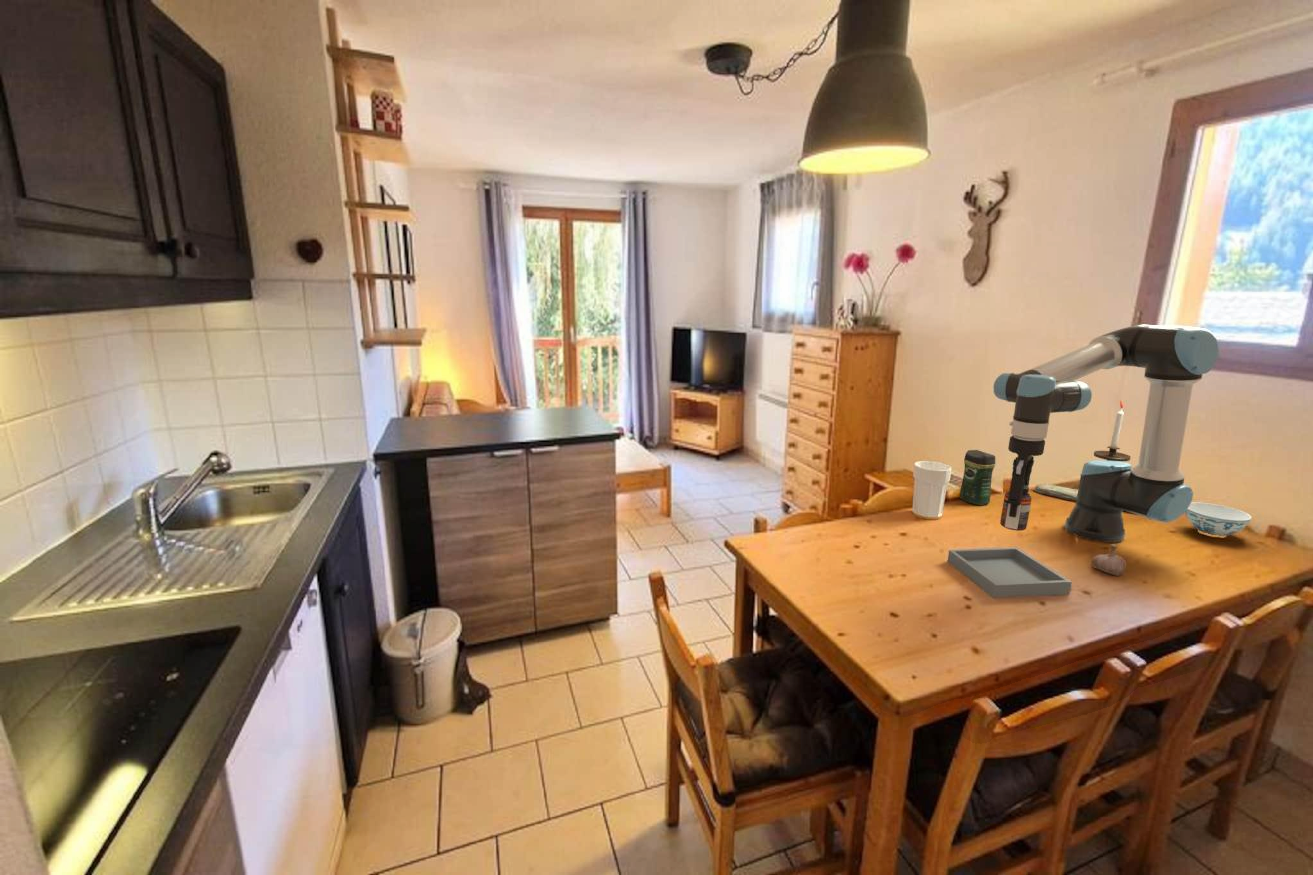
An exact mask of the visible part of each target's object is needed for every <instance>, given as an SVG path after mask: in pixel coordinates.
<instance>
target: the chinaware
mask: <svg viewBox="0 0 1313 875" xmlns="http://www.w3.org/2000/svg"><path fill="white" fill-rule="evenodd" d="M1184 514H1185V516H1186V519H1187V521H1188V522H1189V523H1190V524H1191V525H1192V526H1193V527H1194V529H1198V530H1199V531H1201V532H1203V533H1208V534H1211V535H1219V536H1225V535H1227V536H1230V535H1234V534H1237V533H1239V532H1240V531H1242V530H1244V529H1245V528H1246V527H1247V526H1248V525H1249V523H1250V522H1251V519H1252V516H1251V515H1250V514H1248V513H1247V512H1245V511H1242V510H1240V509H1237V508H1233V507H1230V506H1226V505H1221V504H1216V503H1215V504H1214V503H1208V502H1192V501H1191V503H1190V505H1189V507H1188V509H1187V510H1186V511H1185V512H1184Z"/></svg>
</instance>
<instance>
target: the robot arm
mask: <svg viewBox="0 0 1313 875" xmlns="http://www.w3.org/2000/svg"><path fill="white" fill-rule="evenodd" d="M1219 349H1220V348H1219V342H1218V340H1217V337H1216V336H1215V334H1214V333H1213V332H1212V331H1211V330H1209V329H1206V328H1202V327H1193V326H1189V325H1188V326H1183V325H1158V324H1157V325H1154V324H1153V325H1152V324H1137V325H1132V326H1127V327H1124V328H1123V327H1122V328H1120V329H1116V330H1114V331H1110V332H1108V333H1105V334H1101V335H1100V336H1096V338H1093V339H1092V340H1090V342H1089V343H1088V345H1085V346H1084V347H1083V346H1082V347H1081V348H1078V349H1075V350H1073V351H1071V352H1069V353H1067V354H1064V355H1062V356H1058V357H1056V358H1054V359H1051V360H1049V361H1047V362H1045V363H1042V364H1039V365H1037V366H1035V367H1032V368H1030V369H1027V370H1025V371H1022V372H1020V373H1014V372H1011V373H1010V372H1009V373H1008V372H1003V373H1001V374H1000V375H999V376H998V377H996V379H995V380H994V382H993V394H994V396H995V397H996V398H997V399H998V400H999V399H1000V400H1002V401H1006V402H1008V403H1015V405H1014V411H1013V416H1012V418H1013V419H1012V421H1010V422H1009V423H1008V424H1009V426H1010V427H1011V430H1010V434H1011V436H1010V437H1009V441H1008V446H1007V447H1008V451H1009V452H1011V453H1013V454H1016V455H1017V457H1015V459H1013V462H1012V472H1011V480H1010V487H1009V490H1010V491H1009V490H1008V491H1009V497H1008V500H1007V501H1006V500H1005V503H1008V509H1007V515H1006V521H1005V527H1007V528H1012V529H1016V530H1017V528H1018V522H1019V516H1020V510H1021V499H1022V494H1023V489H1024V485H1026V486H1028V487H1029V485H1030V484H1029V483H1030V478H1031V474H1032V471H1033V470H1032V469H1033V466H1034V464H1035V460H1034V459H1035V458H1034V457H1037V456H1038V457H1039V456H1041V455H1043V454H1044V452H1045V445H1046V440H1045V439H1046V438H1047V437H1048V436H1047V435H1048V431H1049V430H1048V429H1049V424H1050V416H1051V414H1052V413H1053V414H1054V413H1072V412H1075V411H1081V410H1084V409H1085V408H1087V407H1088V406H1089V404H1090V403H1091V401H1092V396H1093V395H1092V394H1093V393H1092V390H1091V388H1090V387H1089V385H1088V384H1086V383H1085V382H1083V381H1078V379H1081V378H1084V377H1086V376H1088V375H1091V374H1093V373H1095V372H1097V371H1099V370H1110V369H1114V368H1116V367H1134V368H1136V367H1137V368H1144V375H1143V376H1144V378H1145V379H1146V380H1147V381H1148V382H1149V383H1150V384H1149V392H1148V397H1147V403H1146V411H1145V415H1144V416H1145V417H1144V423H1143V424H1144V425H1143V429H1142V430H1143V431H1142V437H1141V445H1140V452H1139V456H1138V457H1139V458H1138V462H1137V463H1138V464H1137V465H1135V466H1132V464H1130V463H1128V462H1126V461H1107V460H1090V461H1087V462H1085V463H1083V466H1082V469H1081V473H1080V474H1079V475H1080V478H1079V484H1078V489H1077V490H1078V494H1077V500H1076V502H1075V505H1074V507H1073V508H1072V510H1071V512H1070V514H1069V516H1068V517H1066V519H1065V520H1064V521H1065V522H1064V530H1066V531H1067V532H1069V533H1070V534H1072V535H1074V536H1077V537H1079V538H1082V539H1087V540H1091V541H1095V542H1100V543H1101V542H1102V543H1120V542H1122V541H1124V540H1125V536H1126V529H1125V526H1124V525H1125V524H1124V519H1123V511H1122V510H1125V511H1128V512H1131V513H1130V514H1135V515H1137V516H1141V517H1143V518H1147V519H1148V520H1153V521H1157V522H1160V523H1171V522H1175V521H1176V520H1177V519H1179V518H1180V517H1181V516H1183V515H1184V514H1185V511H1186V510H1187V509H1188V507H1189V505H1190V503H1192V501H1193V499H1194V498H1193V497H1194V491H1193V488H1192V487H1191V486H1189V485H1188V484H1184V481H1185V477H1186V476H1185V474H1184V473H1183V472H1182V471H1181V470H1180V469H1179V468H1180V461H1181V456H1182V455H1181V454H1182V450H1183V444H1184V437H1185V432H1186V426H1187V422H1188V421H1187V420H1188V415H1189V410H1190V403H1191V398H1192V390H1193V386H1194V384H1196V383H1197V382H1200V381H1201V380H1202V378H1203V375H1204V374H1208V373H1209V372H1210V371H1212V369H1213V368H1214V367H1215V364H1217V361H1218V357H1219V353H1220V351H1219ZM1028 494H1029V495H1030V496H1031V494H1030V493H1028ZM1128 512H1127V513H1128ZM1005 527H1004V528H1005ZM1007 528H1006V529H1007ZM1016 530H1015V531H1016Z"/></svg>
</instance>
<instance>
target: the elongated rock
mask: <svg viewBox="0 0 1313 875" xmlns="http://www.w3.org/2000/svg"><path fill="white" fill-rule="evenodd" d="M1034 492H1035V493H1037V492H1038V493H1037V494H1040V495H1048V496H1050V497H1055V498H1057V497H1058V498H1057V499H1063V500H1066V501H1072V502H1075V503H1076V500H1077V494H1078V489H1077V488H1076V489H1075V488H1071V487H1065V486H1060V485H1054V484H1050V483H1039V484H1036V486H1035V487H1034ZM1124 511H1125V510H1122V512H1124ZM1126 513H1128V511H1127V512H1126Z"/></svg>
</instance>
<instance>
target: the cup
mask: <svg viewBox="0 0 1313 875" xmlns="http://www.w3.org/2000/svg"><path fill="white" fill-rule="evenodd" d="M951 474H952V467H951V465H949V464H946V463H943V462H940V461H931V460H922V461H921V460H920V461H916V462H915V463H914V464H913V475H912V476H913V478H914V482H913V483H914V484H913V485H914V486H913V497H912V511H911V513H912V514H913V516H915V517H917V518H920V519H923V520H933V521H934V520H940V519H941V518H942V516H943V512H944V505H945V501H946V500H945V499H946V492H947V488H948V487H947V486H948V483H949V482H950V480H951Z"/></svg>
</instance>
